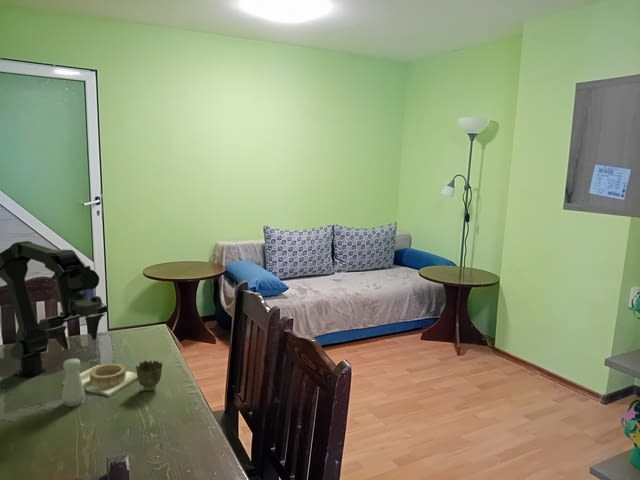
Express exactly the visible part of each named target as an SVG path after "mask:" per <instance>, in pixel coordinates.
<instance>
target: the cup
mask: <svg viewBox="0 0 640 480" xmlns="http://www.w3.org/2000/svg"><path fill="white" fill-rule="evenodd" d="M135 366H136V367H135V369H136V373H137V377H138V383H139V385H140V386H141V387H143V388H142V389H143V391H145V392H147V393H149V392H153V391H155V390H156V389H157V385H158V384H159V383H160V380H161V379H162V378H161V377H162V369H163V363H162V361H158V360H157V361H156V360H153V361H152V360H149V361H148V360H144V361H143V362H142V361H140V362H139V365H135Z"/></svg>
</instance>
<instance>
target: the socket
mask: <svg viewBox="0 0 640 480" xmlns="http://www.w3.org/2000/svg"><path fill="white" fill-rule="evenodd" d="M79 373H80V372H79ZM80 377H81V381H82V385H83V389H84V391H86V392H91V393H95V394H99V395H103V396H107V397H111V396H112V395H114V394H116V393H117V392H119V391H120V390H122V389H124V388H125V387H127V386H129V385H131V384H132V383H134V382H136V381H137V380H138V377H137V372H133V371H127V368H126V366H125V365H123V364H120V363H108V364H107V363H105V364H102V365H101V364H97V365H94V366H93V367H91V368H89V369H86V370H85V371H82V372H81V373H80ZM62 385H63V386H64V381H62Z"/></svg>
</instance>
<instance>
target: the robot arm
mask: <svg viewBox="0 0 640 480" xmlns="http://www.w3.org/2000/svg"><path fill="white" fill-rule="evenodd" d="M31 260H33V261H36V262H39V263H42V264H44V267H45V268H46V269H48V270H49V271H50V272H53V273H54V274H53V275H52V276H51V278H50V281H55V283H56V289H57V293H58V297H59V298H56V302H57V303H59V304H60V307H61V312H59V315H55V316H49V317H45V318H43V319H40V320H39V322H37V320H36V319H37V318H36V316H35V312H34V307H33V305H32V301H31V298H30V293H29V291H28V290H29V289H28V287H27V283H26V276H27V274H28V271H29V267H28V264H29V263H30V261H31ZM0 279H1V280H3V281H4V282H5V284H6V285H7V290H8V293H9V296H10V300H11V304H12V307H13V311H14V314H15V319H16V321H17V325H18V327H17V331H16V334H15V336H14V337H15V338H14V339H15V344H14V345H13V347H12V348H11V349H10V353H9V354H10V357H11V358H12V359H14V360H15V359H16V360H17V361H18V362H17V363H18V365H17V366H18V371H15V372H13V373H14V375H15V376H19V377H22V378H27V379H29V378H32V377H34V376H36V375H38V374H41V373H43V372H45V371H46V370H47V368H45V367H43V360H42V353H45V352H47V350H48V346H49V340H50V339H49V335H51V336H52V337H53V338H54V339H55V340H56V342H58V343H59V345H60V346H61V348H63V350H64V351H67V350H69V345H68V341H67V336H66V332H65V331H66V329H67V325H64V324H65V323H67V322H70V321H73V320H76V319H79V318H84V320H85V322H86V324H87V325H86V326H87V329H88V332H89V335H90V336H91V339H92V341H96V340H97V336H98V327H99V324H100V321H101V320H102V318H103V317H104V316H105V315H106V314H105V313H108V312H109V310H108V306H107V305H106V304H105V303H103V301H102V299H101V296H99V295H96V296H92V297H91V298H89V299H87V297H86V295H85V293H81V292H83V291H88V290H89V291H90V290H94V289H96V288H97V287H99V286H98V285H99V283H100V276H99V275H98V273H97V272H96V271H95V270H93V269H91V265H87V266H86V264H85V263H84V262H83V261H82V260H81V258H80V257H79V256H78V254H76V252H75V251H74V250H72V249H53V248H49V247H46V246H43V245H39V244H37V243H33V242H32V241H29V240H24V241H18V242H16V241H15V242H14V243H12V244H11V245H10V246H9V247H8V248H6V249H5V250H3V251H2V252H0ZM47 332H48V333H49V335H48V333H47Z"/></svg>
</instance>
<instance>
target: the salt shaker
mask: <svg viewBox="0 0 640 480" xmlns="http://www.w3.org/2000/svg"><path fill="white" fill-rule="evenodd" d="M62 364H63V365H62V366H63V370H65V373H64V374H65V375H64V381H63V382H64V385H63V386H62V391H61V392H62V394H61V400H62V402H63V403H64V406H66V407H69V408H72V407H78V406H79V405H80V404H81V403H83V401H84V398H85V395H86V394H85V390H84V389H83V385H82V381H81V377H80V369H79V368H80V367H81V360H80V359H78V358H76V357H73V358H68V359H66V360H65V361H63V363H62Z"/></svg>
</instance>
